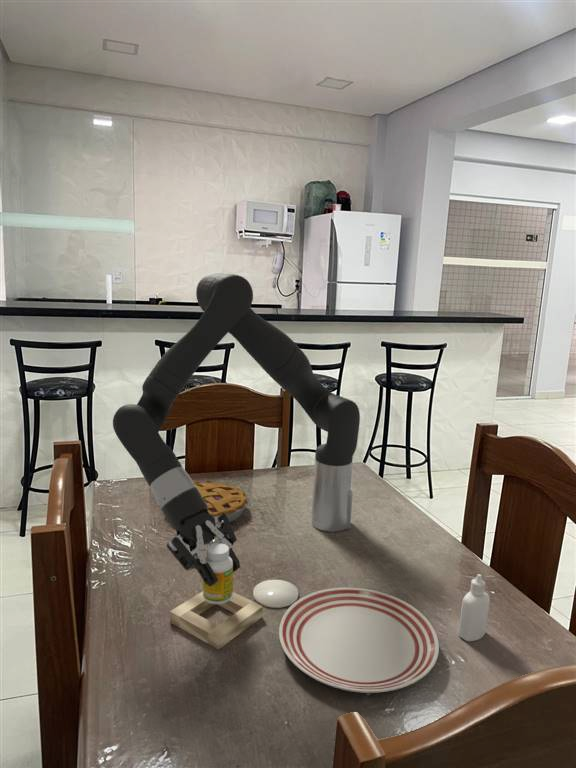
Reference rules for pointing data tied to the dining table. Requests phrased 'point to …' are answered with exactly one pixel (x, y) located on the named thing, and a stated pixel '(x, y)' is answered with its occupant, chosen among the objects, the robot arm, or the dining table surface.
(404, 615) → the dinner plate
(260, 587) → the pale ceramic coaster
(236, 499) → the pie
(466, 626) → the eye dropper bottle
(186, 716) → the dining table surface
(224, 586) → the supplement bottle
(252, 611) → the birch pocket block
